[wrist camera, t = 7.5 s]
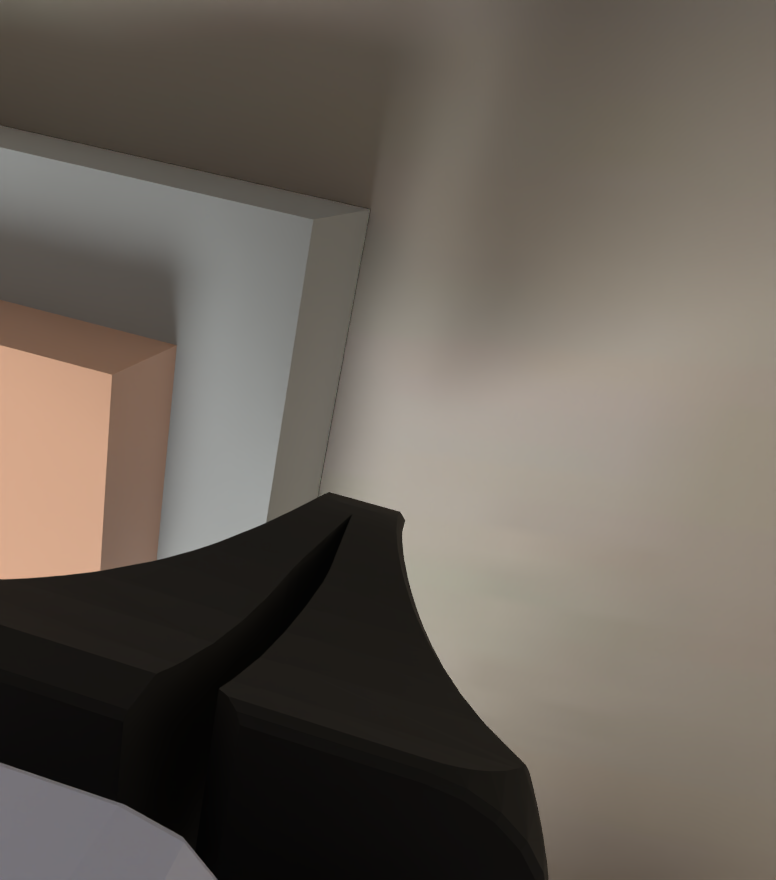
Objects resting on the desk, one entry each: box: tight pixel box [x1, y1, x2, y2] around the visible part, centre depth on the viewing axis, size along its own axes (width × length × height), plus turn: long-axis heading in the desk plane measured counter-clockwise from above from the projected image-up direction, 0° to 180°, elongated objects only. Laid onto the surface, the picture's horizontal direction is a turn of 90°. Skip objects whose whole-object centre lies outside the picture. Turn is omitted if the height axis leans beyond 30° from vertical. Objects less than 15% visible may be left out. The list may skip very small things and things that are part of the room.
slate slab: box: [0, 125, 370, 560], centre depth 16 cm, size 16×10×4 cm, turn 168°
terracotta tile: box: [0, 300, 177, 579], centre depth 12 cm, size 5×5×2 cm
